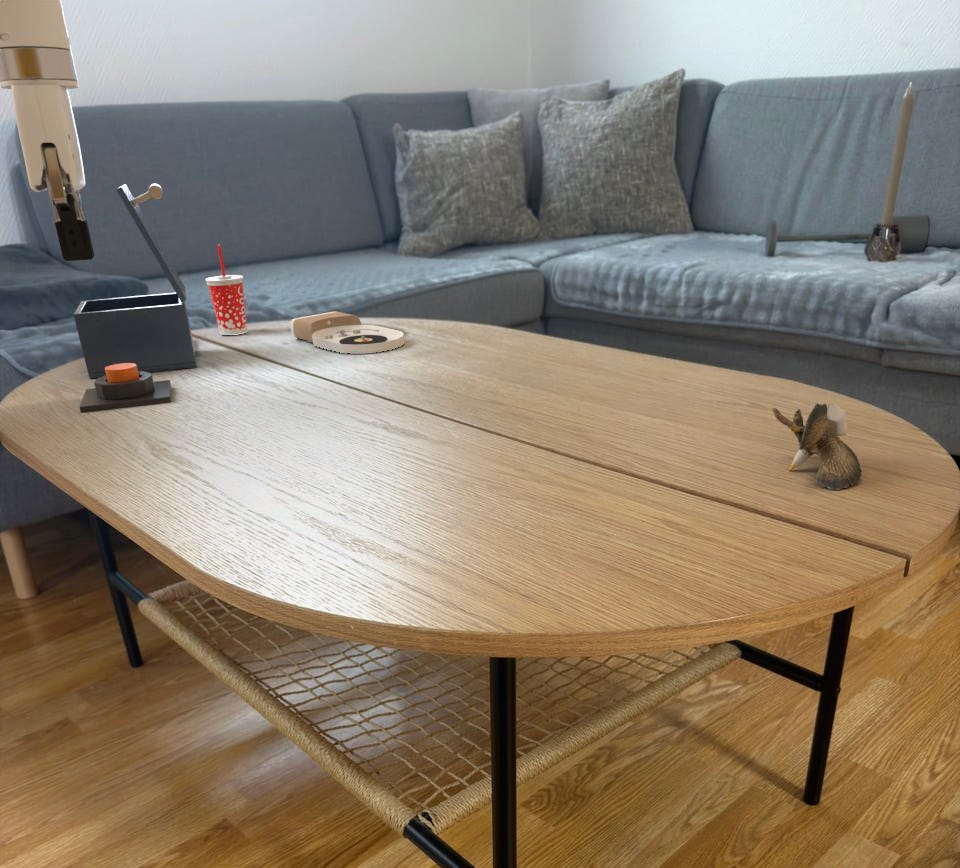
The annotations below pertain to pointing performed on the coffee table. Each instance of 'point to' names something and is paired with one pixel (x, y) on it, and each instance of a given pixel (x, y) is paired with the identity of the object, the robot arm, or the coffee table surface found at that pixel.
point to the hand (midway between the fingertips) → (79, 259)
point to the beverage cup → (228, 301)
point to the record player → (345, 333)
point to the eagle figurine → (824, 445)
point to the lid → (152, 233)
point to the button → (121, 372)
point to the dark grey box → (135, 333)
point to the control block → (125, 393)
